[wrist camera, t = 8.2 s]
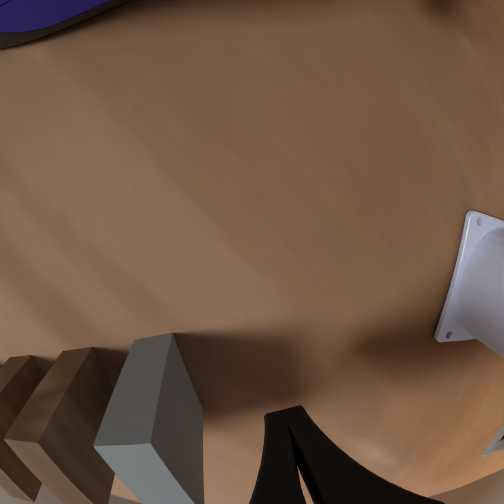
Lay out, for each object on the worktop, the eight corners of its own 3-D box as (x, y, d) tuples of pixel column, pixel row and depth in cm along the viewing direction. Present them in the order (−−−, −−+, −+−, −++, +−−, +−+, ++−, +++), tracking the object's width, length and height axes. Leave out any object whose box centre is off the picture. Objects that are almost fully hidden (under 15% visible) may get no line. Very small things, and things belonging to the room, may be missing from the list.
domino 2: (92, 346, 14) (37, 443, 7) (129, 417, 15) (105, 514, 8) (62, 351, 13) (3, 438, 7) (101, 419, 15) (70, 510, 8)
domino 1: (31, 355, 13) (-29, 432, 7) (69, 420, 15) (34, 502, 8) (10, 357, 13) (-49, 427, 6) (47, 420, 14) (10, 495, 8)
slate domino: (172, 332, 14) (150, 443, 7) (202, 408, 15) (204, 515, 8) (134, 340, 14) (93, 445, 7) (168, 413, 15) (157, 517, 8)
